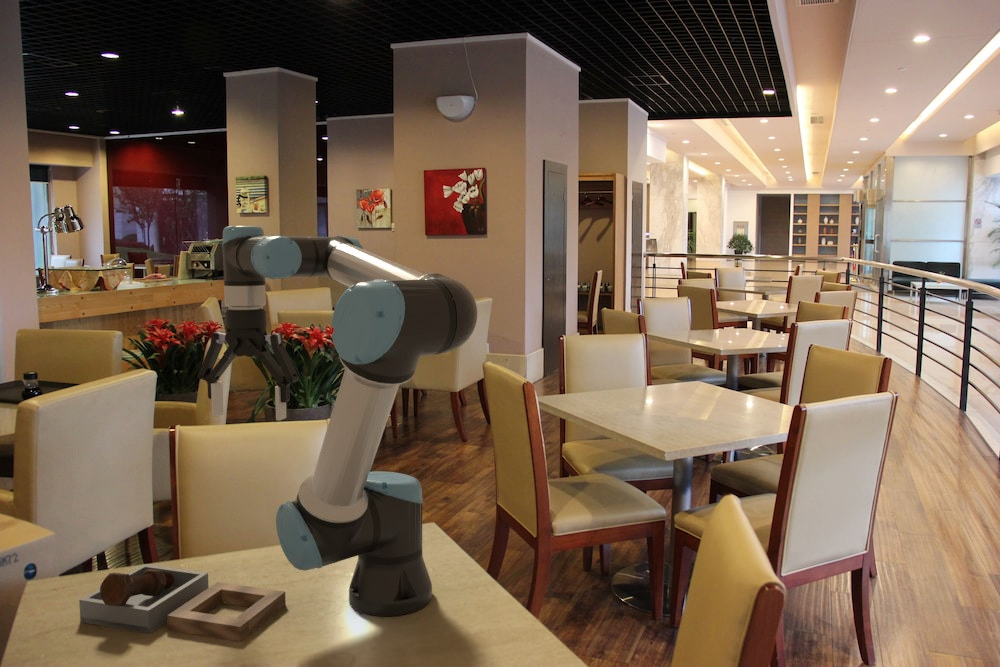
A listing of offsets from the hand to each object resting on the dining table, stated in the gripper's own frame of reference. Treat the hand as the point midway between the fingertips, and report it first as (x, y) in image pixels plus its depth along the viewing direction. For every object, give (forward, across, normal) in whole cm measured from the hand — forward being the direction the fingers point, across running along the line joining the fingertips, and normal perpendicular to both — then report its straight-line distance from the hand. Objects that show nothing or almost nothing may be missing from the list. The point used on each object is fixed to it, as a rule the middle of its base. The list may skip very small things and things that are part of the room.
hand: (249, 417), depth 157 cm
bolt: (+24, +10, +19) cm, 32 cm away
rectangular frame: (+31, -6, +18) cm, 37 cm away
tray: (+31, +10, +18) cm, 38 cm away
